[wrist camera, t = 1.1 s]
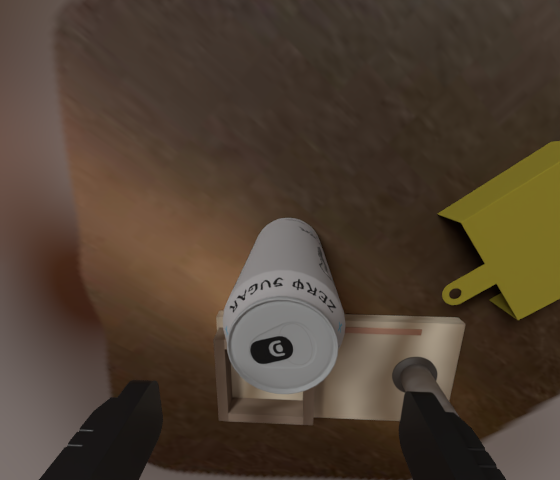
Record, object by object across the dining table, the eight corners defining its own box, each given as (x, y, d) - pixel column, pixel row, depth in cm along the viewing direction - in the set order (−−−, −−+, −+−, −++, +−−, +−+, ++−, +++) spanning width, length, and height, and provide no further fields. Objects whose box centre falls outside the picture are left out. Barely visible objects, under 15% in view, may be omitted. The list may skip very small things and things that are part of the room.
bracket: (416, 239, 18) (661, 87, 15) (380, 217, 26) (540, 112, 23) (517, 397, 21) (737, 295, 18) (458, 336, 29) (608, 257, 26)
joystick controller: (458, 317, 27) (564, 417, 17) (438, 413, 31) (517, 548, 20) (219, 310, 28) (174, 400, 18) (225, 403, 32) (189, 527, 21)
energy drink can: (326, 267, 27) (366, 390, 12) (267, 282, 27) (238, 415, 13) (310, 208, 25) (334, 268, 11) (248, 225, 26) (192, 304, 12)
